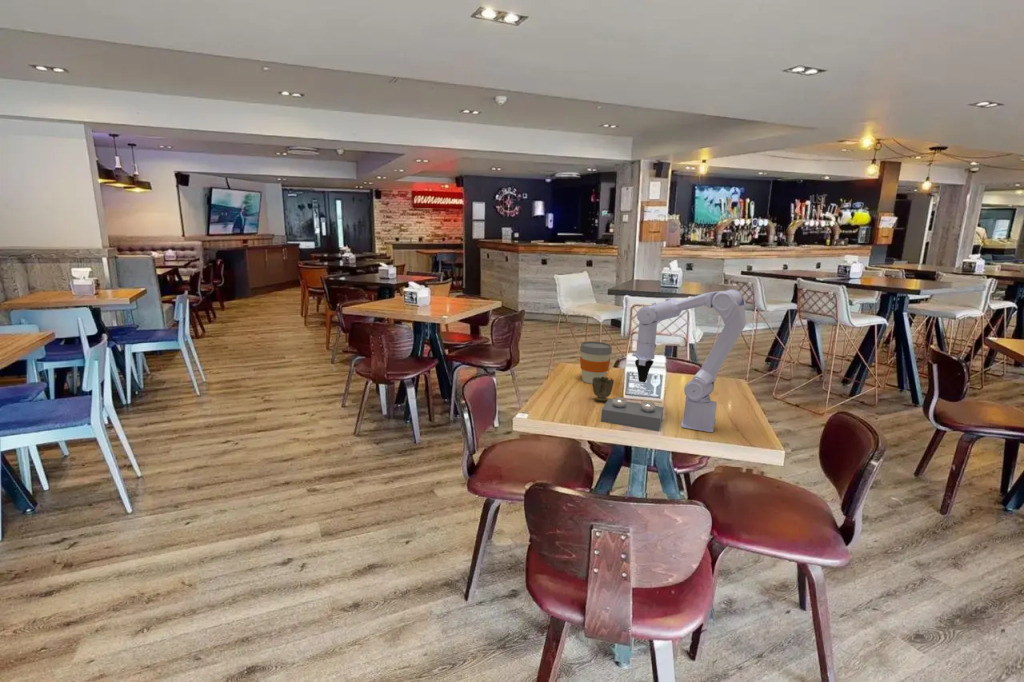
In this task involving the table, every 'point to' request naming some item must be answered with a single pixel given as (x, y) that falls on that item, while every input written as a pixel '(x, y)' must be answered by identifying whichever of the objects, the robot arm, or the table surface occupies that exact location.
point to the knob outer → (619, 402)
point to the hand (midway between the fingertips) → (642, 381)
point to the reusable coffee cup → (594, 360)
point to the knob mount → (632, 415)
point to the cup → (602, 388)
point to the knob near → (648, 406)
